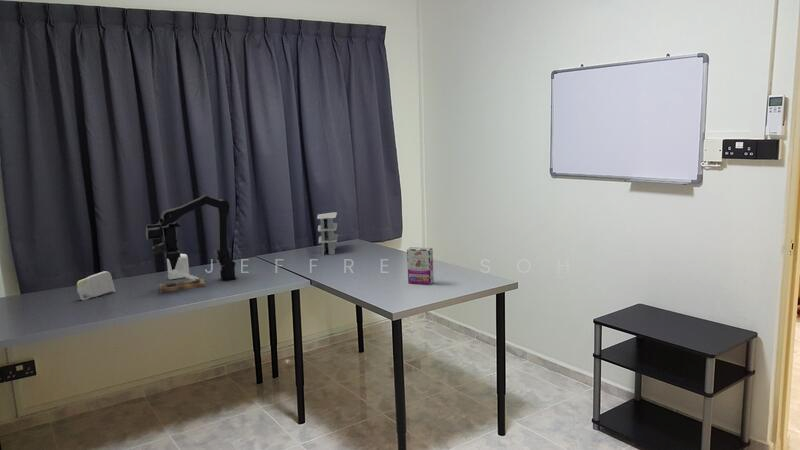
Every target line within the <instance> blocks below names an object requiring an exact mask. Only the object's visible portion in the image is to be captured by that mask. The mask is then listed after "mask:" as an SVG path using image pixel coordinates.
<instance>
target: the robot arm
mask: <svg viewBox="0 0 800 450" xmlns="http://www.w3.org/2000/svg"><path fill="white" fill-rule="evenodd" d="M205 205H208V206H211V207H213V208H214V212H215V215H216V218H217V220H216V221H217V223H216V225H217V248H216V249H213V258H214V259H215V262H217V264H219V266H220V269H219V277H220V280H222V281H229V280H236V279H237V277H236V271H235V268H236V262H235V261H234V260H232V259H231V255H230V251H229V249H228V228H227V227H228V226H227V224H228V223H227V221H228V220H227V218H228V216H229V212H230V203H229V201H228V200H224V199H221V198H220V199H215V198H213V197H210V196H209V195H201V196H199V197H198V198H196V199H194V200H190V201H189V202H187V203H185V204H183V205H180V206H177V207H174V208H170V209H165V210H163V211H162V212H161V215H160V218H159V220H158V222H157V223H156V224H155V223H154V224H145V225H146V227H145V236H146V237H145V238H146V240H147V241H148V240H158V239H161V237H162V238H163V240H162V241H163V242H161V243H159V244H155V245H154V246H152V247H151V250H152V252H153V254H154V255H155V256H156V255H158V254H159V253H161V252H164V253H165V254H164V256H165V260H167V259H169V261H170V264H171V268H172V270H174V269H175V267H176V264H177V261H178V258H179V257H180V254H181V251H179V247H178V246H179V244H178V241H179V240H178V232H177V228H181V227H182V226H181V224H180V223H178V222H177V220H179V219H181V217H183V216H185V215H186V214H188V213H191V212H192V211H195V210H197V209H199V208H201V207H203V206H205Z"/></svg>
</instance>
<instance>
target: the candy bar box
mask: <svg viewBox="0 0 800 450" xmlns="http://www.w3.org/2000/svg"><path fill="white" fill-rule="evenodd" d="M406 259H407V263H406V264H407V277H408V278H407V280H408V281H407V283H408V284H413V285H426V286H427V285H429V286H431V285H432V284H433V283H434V278H435V277H434V255H433V247H409V248H407V249H406Z"/></svg>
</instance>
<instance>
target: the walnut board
mask: <svg viewBox="0 0 800 450" xmlns="http://www.w3.org/2000/svg"><path fill="white" fill-rule="evenodd" d="M202 287H206V282H205V280H204V279H203V278H199V279H196V281H195V280H192V279H189V280H182V281H175V282H174V281H173V282H168V283H160V284H159V292H160V293H166V292H175V291H181V290H182V291H183V290H189V289H197V288H202Z"/></svg>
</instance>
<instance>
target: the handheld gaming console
mask: <svg viewBox="0 0 800 450" xmlns="http://www.w3.org/2000/svg"><path fill="white" fill-rule="evenodd" d="M76 287H77V288H76V291H77V293H78V295H79V298H80V300H81V301H86V300H89V299H91V298H97V297H98V296H101V295H104V294H107V293H110V292H112V293H113V294H116V291H117V290H116V288H115V285H114V281H113V278H112V274H111V272H109V271H106V270H105V271H104V270H103V271H101V272H98V273H95V274H91V275H89V276H87V277H85V278H83V279H79V280H78V281H77V282H76Z"/></svg>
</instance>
